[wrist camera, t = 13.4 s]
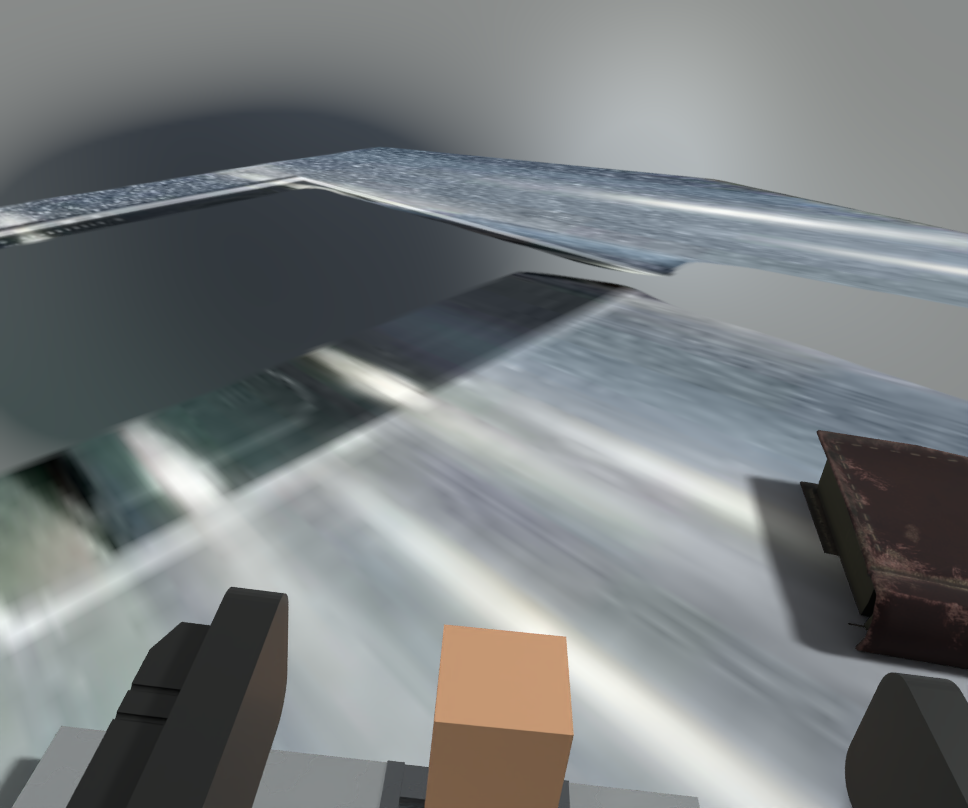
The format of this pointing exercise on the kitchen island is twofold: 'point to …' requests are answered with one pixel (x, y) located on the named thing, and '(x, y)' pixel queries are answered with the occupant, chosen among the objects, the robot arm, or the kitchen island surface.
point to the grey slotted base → (311, 781)
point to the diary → (898, 542)
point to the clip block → (500, 720)
